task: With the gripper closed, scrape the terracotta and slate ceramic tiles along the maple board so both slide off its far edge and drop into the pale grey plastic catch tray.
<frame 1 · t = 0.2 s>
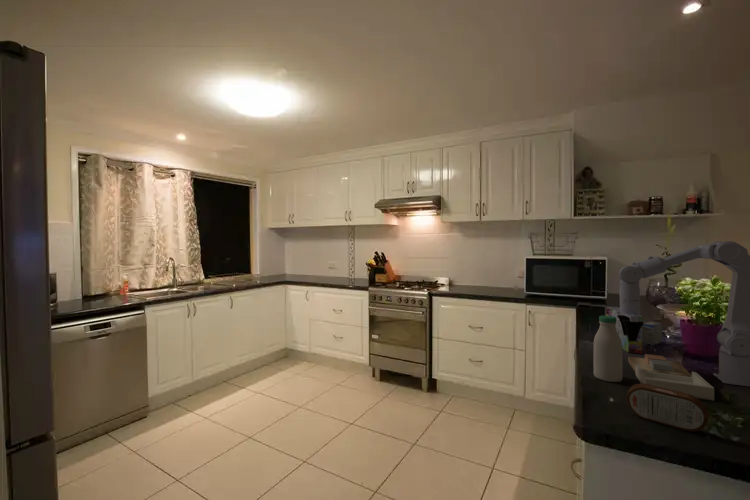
hand: (629, 338, 118), 10 cm above the worktop, fingers open, 7 cm apart
snack box: (622, 346, 143), on the worktop
tin: (665, 424, 81), on the worktop
slate tile: (660, 368, 111), point 2 cm above the worktop, touching board
board: (658, 371, 114), on the worktop
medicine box: (652, 343, 146), on the worktop
catch tray: (671, 386, 101), on the worktop
terracotta tile: (655, 362, 116), point 2 cm above the worktop, touching board
milk bottle: (607, 378, 109), on the worktop
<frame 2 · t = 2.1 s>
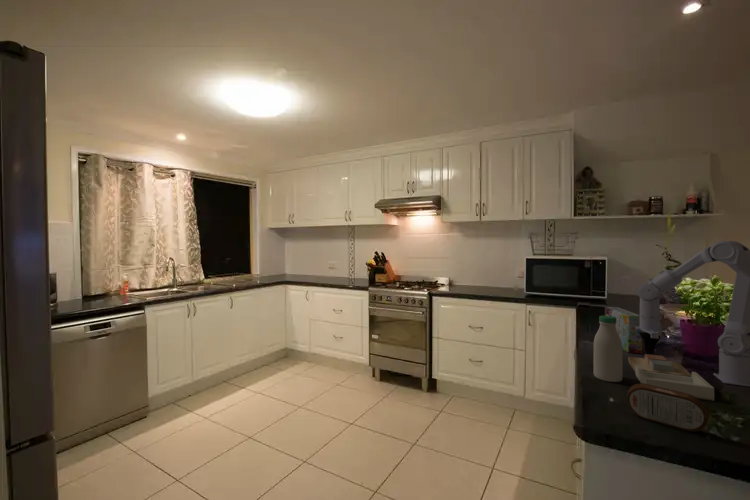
hand: (649, 353, 123), 3 cm above the worktop, fingers closed
nothing on the worktop moved.
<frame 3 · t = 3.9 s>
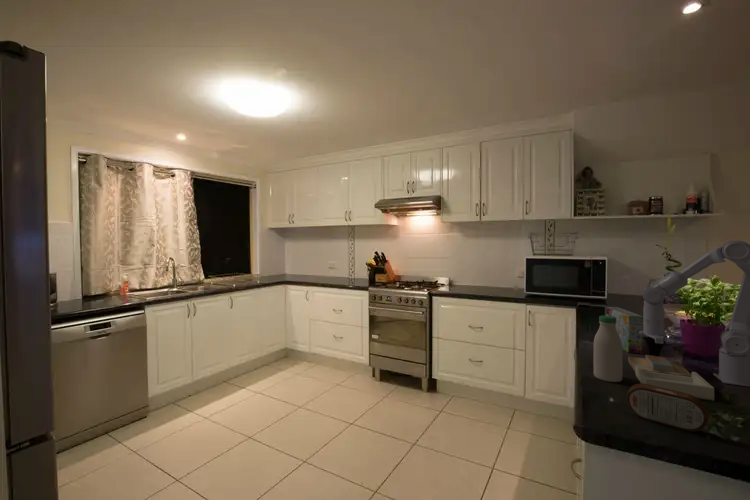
hand: (653, 358, 118), 3 cm above the worktop, fingers closed
slate tile: (660, 368, 111), point 2 cm above the worktop
terracotta tile: (656, 363, 115), point 2 cm above the worktop, touching gripper
everything else where it was.
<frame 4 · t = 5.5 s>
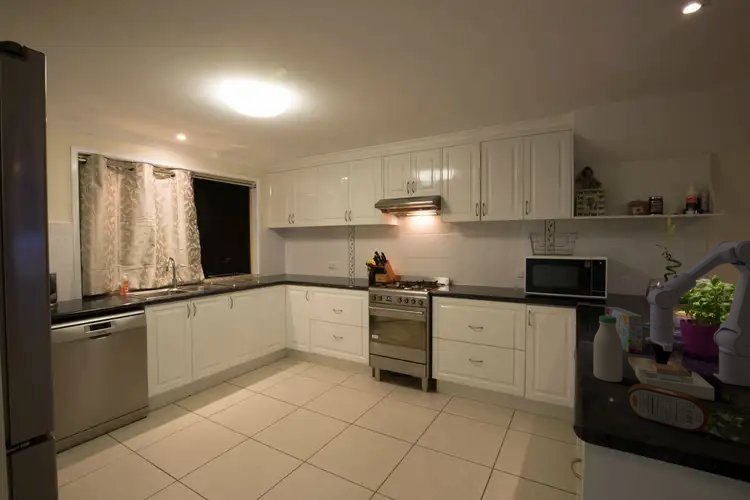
hand: (661, 367, 110), 3 cm above the worktop, fingers closed
slate tile: (669, 383, 103), resting on catch tray, touching terracotta tile
terracotta tile: (664, 372, 107), point 2 cm above the worktop, touching board, gripper, slate tile
everything else where it was.
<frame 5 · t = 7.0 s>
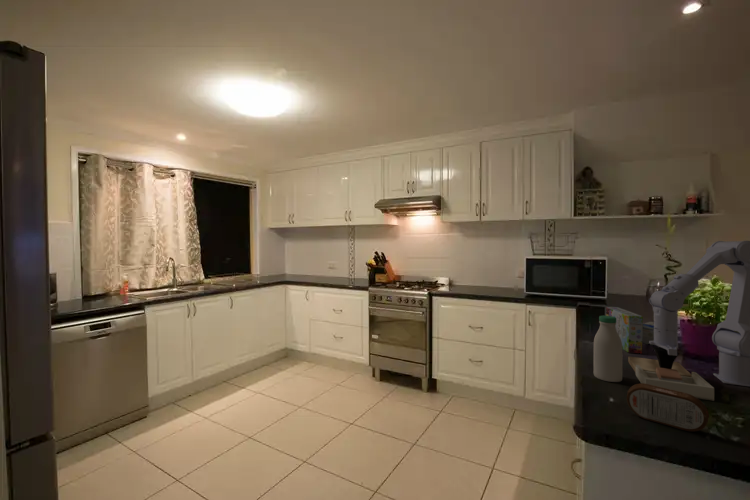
hand: (665, 371, 107), 3 cm above the worktop, fingers closed
slate tile: (673, 388, 99), resting on catch tray, touching terracotta tile
terracotta tile: (668, 378, 104), point 2 cm above the worktop, tilted 11°, touching gripper, slate tile
everything else where it was.
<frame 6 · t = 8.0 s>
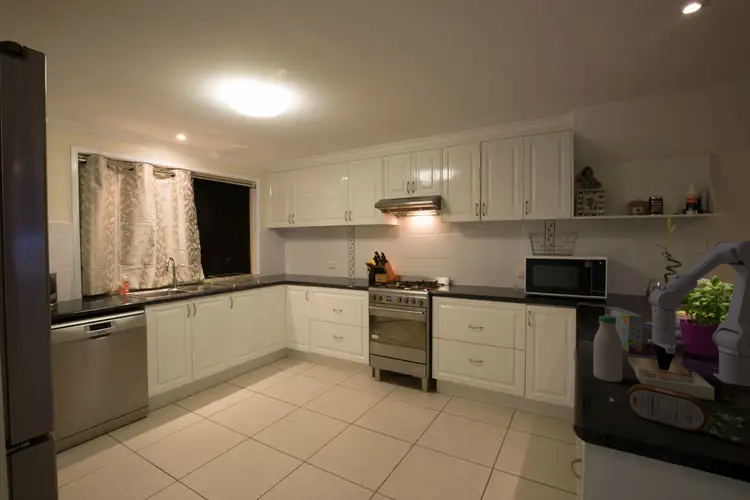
hand: (663, 369, 108), 3 cm above the worktop, fingers closed
slate tile: (673, 388, 99), resting on catch tray
terracotta tile: (668, 382, 104), resting on catch tray
everything else where it was.
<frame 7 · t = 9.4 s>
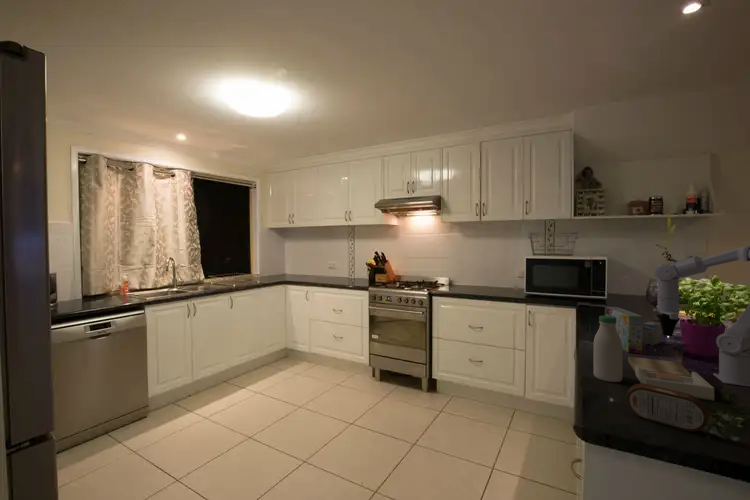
hand: (667, 335, 120), 10 cm above the worktop, fingers closed
nothing on the worktop moved.
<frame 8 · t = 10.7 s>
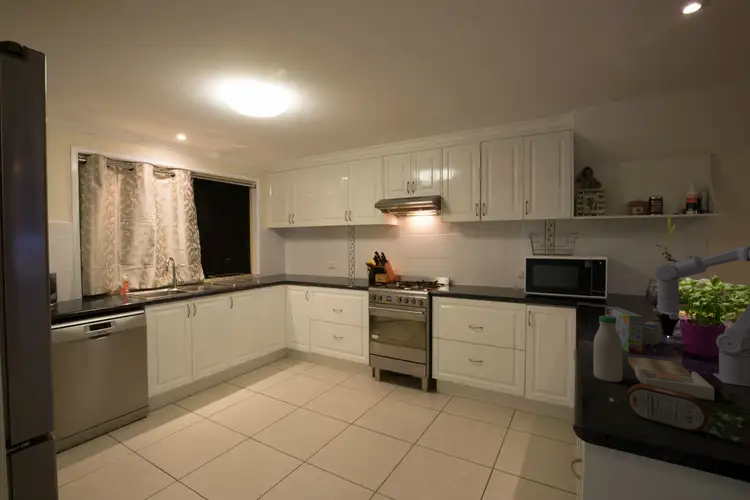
hand: (667, 335, 120), 10 cm above the worktop, fingers closed
nothing on the worktop moved.
at the end: terracotta tile inside the target area on the catch tray (2.7 cm from its centre), point 0.4 cm above the catch tray's base; slate tile inside the target area on the catch tray (2.5 cm from its centre), point 0.4 cm above the catch tray's base; terracotta tile touching catch tray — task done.
